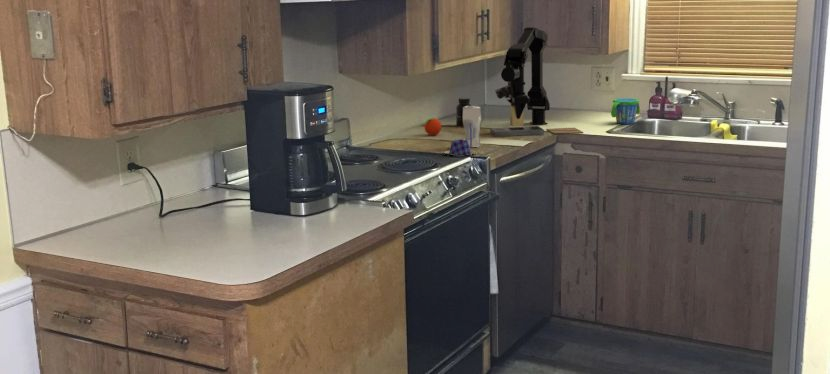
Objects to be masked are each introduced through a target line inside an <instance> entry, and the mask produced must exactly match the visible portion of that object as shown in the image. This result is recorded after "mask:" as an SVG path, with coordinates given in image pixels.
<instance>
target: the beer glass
mask: <svg viewBox="0 0 830 374" xmlns="http://www.w3.org/2000/svg"><path fill="white" fill-rule="evenodd" d="M481 108H482V107H481V106H480V105H479V106H478V105H471V106H465V107H463V127H462V128H463V131H464V140H467V141H468V143H469V147H478V148H480V147H481V141H480V132H481V127H482V126H481V125H482V109H481ZM479 146H480V147H479Z"/></svg>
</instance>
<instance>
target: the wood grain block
mask: <svg viewBox="0 0 830 374" xmlns="http://www.w3.org/2000/svg"><path fill="white" fill-rule="evenodd" d="M524 111H525V109H524V110H523V112H522V114H521V117H520V119H517V117H516V111H515V106H514V105H511V104H510V105H509V125H510V127H525V126H524V125H525V124H524V117H525V115H524V113H525V112H524Z"/></svg>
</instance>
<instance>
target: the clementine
mask: <svg viewBox="0 0 830 374" xmlns="http://www.w3.org/2000/svg"><path fill="white" fill-rule="evenodd" d="M441 131H442V124H441V122H440V120H439V119H437V118H434V117H432V118H428V119H427V120H426V121H425V123H424V132H425V133H426V134H428V135H430V136H436V135H438V134H439V133H440V132H441Z"/></svg>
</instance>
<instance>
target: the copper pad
mask: <svg viewBox="0 0 830 374" xmlns="http://www.w3.org/2000/svg"><path fill="white" fill-rule="evenodd" d="M546 131H547V132H550V133H551V134H553V135H555V136H556V135H573V134H574V135H575V134H584V131H582V130H581V129H578V128H576V127H561V128H560V127H558V128H557V127H556V128H546Z"/></svg>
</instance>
